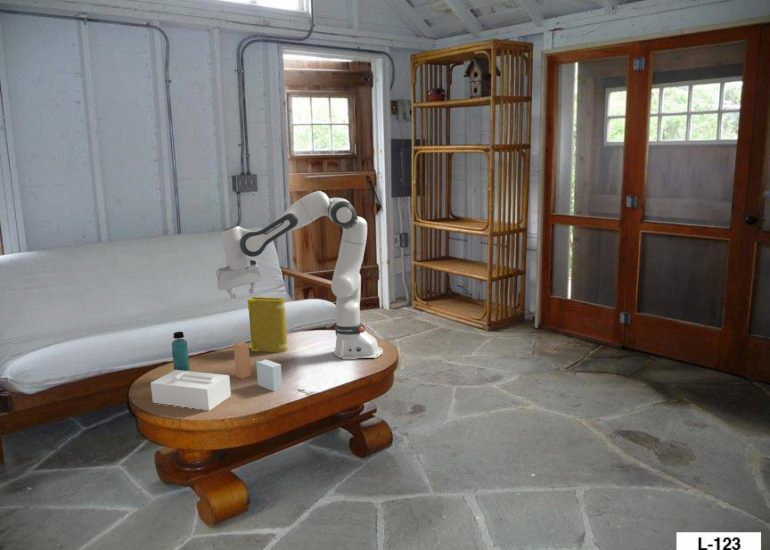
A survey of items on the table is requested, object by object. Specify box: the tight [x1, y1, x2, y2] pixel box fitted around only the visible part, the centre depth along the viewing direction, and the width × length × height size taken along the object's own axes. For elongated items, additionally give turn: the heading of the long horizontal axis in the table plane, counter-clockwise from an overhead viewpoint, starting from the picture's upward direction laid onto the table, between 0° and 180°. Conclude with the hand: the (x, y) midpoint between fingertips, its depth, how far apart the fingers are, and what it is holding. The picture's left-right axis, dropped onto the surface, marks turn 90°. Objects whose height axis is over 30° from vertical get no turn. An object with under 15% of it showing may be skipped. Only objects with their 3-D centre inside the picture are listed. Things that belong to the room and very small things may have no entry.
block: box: [233, 341, 252, 379], centre depth 258 cm, size 5×4×14 cm
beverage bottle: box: [171, 331, 191, 371], centre depth 257 cm, size 6×7×20 cm
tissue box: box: [150, 369, 232, 411], centre depth 235 cm, size 14×25×11 cm, turn 71°
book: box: [247, 296, 289, 353], centre depth 290 cm, size 17×7×25 cm, turn 73°
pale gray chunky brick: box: [255, 358, 283, 392], centre depth 245 cm, size 11×4×10 cm, turn 47°
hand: (242, 295), depth 265 cm, fingers open, 8 cm apart
